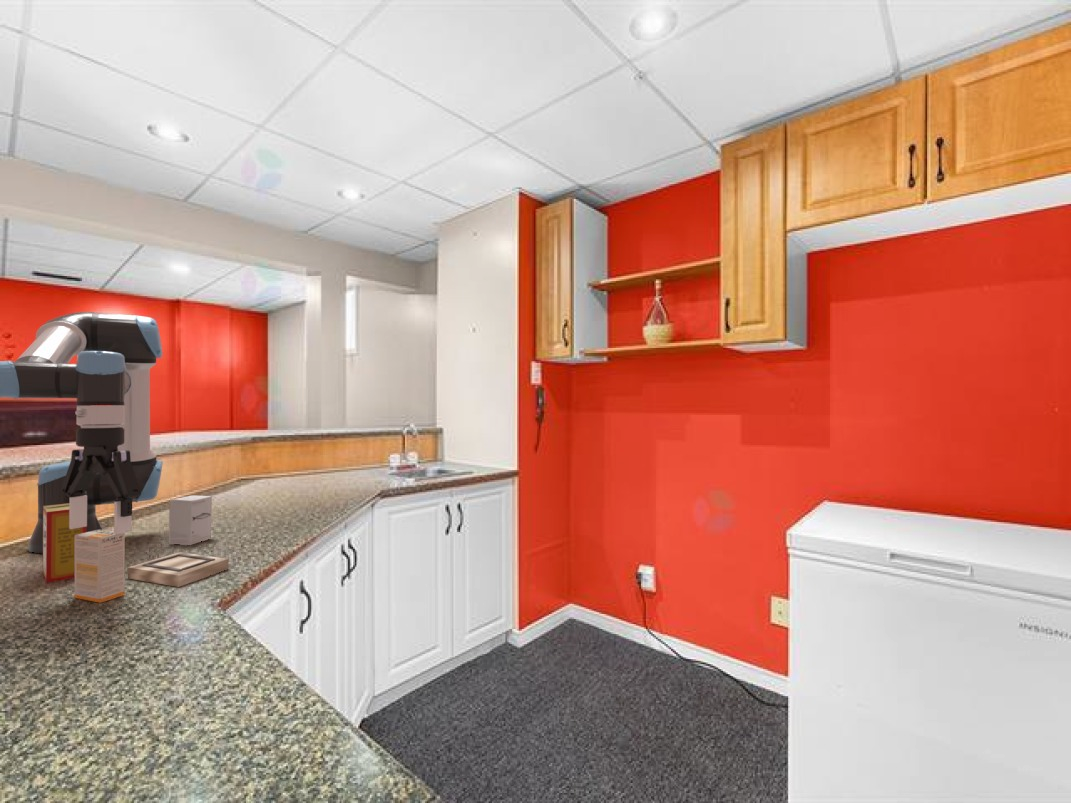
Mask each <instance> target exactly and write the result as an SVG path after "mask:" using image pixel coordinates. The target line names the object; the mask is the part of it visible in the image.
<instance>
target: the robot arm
mask: <svg viewBox="0 0 1071 803" xmlns="http://www.w3.org/2000/svg"><path fill="white" fill-rule="evenodd" d="M162 347H163V346H162V340H161V333H160V329H159V325H158V322H157V321H156V320H155V319H154V318H152V317H150V316H142V315H136V314H135V315H131V314H118V313H108V312H107V313H105V312H93V311H80V312H79V311H78V312H73V313H68V314H64V315H60V316H57V317H54V318H52V319H50V320H48V321H46V322H44V323H43V324H42V325H41V326H40V327H39V328H38V329H37V331H36V333H35V339H34V341H33V342H32V343H31V344H30V345H29V346H28V347H27V349H26V350H24V351H23V352H22V354H21V355H20V356H19V357H17V359H16V360H15V361H14V360H5V361H4V360H3V361H2V360H0V398H6V399H7V398H8V399H9V398H10V399H14V400H17V399H76V410H75V412H74V413H75V416H76V425H77V426H80V428H77V429H75V445H76V446H77V447H79V449H73V450H72V451H71V457H70V461H65V462H59V463H53V464H49V465H48V464H47V465H45V466H43V467H42V468H40V469H39V471H38V477H37V478H38V479H37V480H38V481H37V484H36V486H37V523H36V524H35V527H34V529H33V531H32V534H31V537H30V538H29V541H28V552H30V553H32V552H34V553H33V554H43V506H48V505H57V504H66V503H69V529H75V528H80V527H86V532H90V531H95V530H103V528H102V526H101V523H100V521H99V519H98V517H97V515H96V510H97V509H96V507H97V506H100V505H112V504H113V506H114V508H113V511H114V512H113V513H114V514H113V516H114V517H113V519H114V521H113V523H114V524H113V531H114V534H121V533H129V532H132V528H133V527H132V526H133V525H132V521H133V520H132V518H133V516H132V515H133V503H138V502H145V501H146V502H147V501H151V500H154V499H155V498H156V497H157V495H158V493H159V487H160V481H161V475H162V471H163V470H162V469H163V461H162V460H159V459H158V460H157V453H155V452H153V451H152V450H151V407H150V406H151V404H150V403H151V398H150V397H151V396H150V395H151V389H150V388H151V385H150V383H151V382H150V381H151V380H150V378H151V376H150V375H151V374H150V372H151V368H153V367H154V366H156V364H157V359H162V358H163V348H162ZM76 356H77V359H76V363H69V362H71V360H72V359H73V357H76ZM80 447H81V449H80Z"/></svg>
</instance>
